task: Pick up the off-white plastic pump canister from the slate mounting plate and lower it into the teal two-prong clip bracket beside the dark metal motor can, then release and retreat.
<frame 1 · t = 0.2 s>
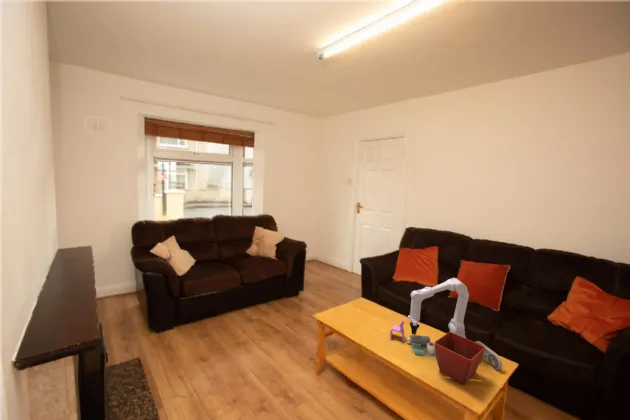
hand: (413, 331, 175), 10 cm above the table, fingers open, 7 cm apart
plant pot: (456, 373, 153), on the table
pump: (430, 352, 169), point 1 cm above the table, touching motor assembly
game controller: (486, 361, 164), on the table
toy chair: (397, 339, 184), on the table
motor assembly: (424, 349, 173), on the table
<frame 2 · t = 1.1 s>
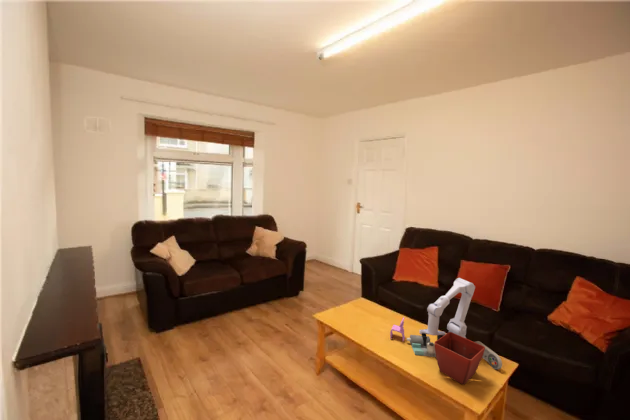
hand: (431, 345, 168), 5 cm above the table, fingers open, 7 cm apart
nothing on the table moved.
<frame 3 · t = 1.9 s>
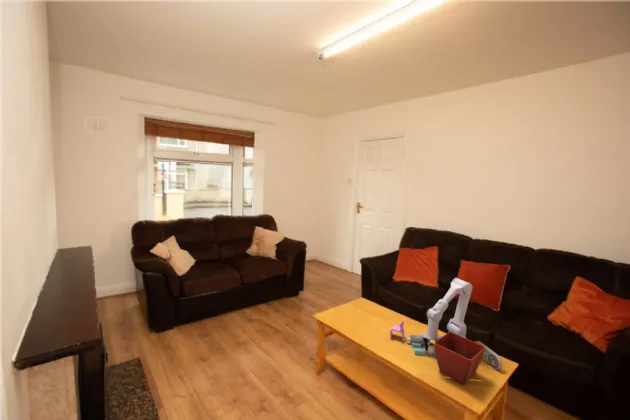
hand: (430, 350, 169), 2 cm above the table, fingers closed on pump, 5 cm apart
pump: (430, 352, 169), point 1 cm above the table, touching gripper, motor assembly
everything else where it was.
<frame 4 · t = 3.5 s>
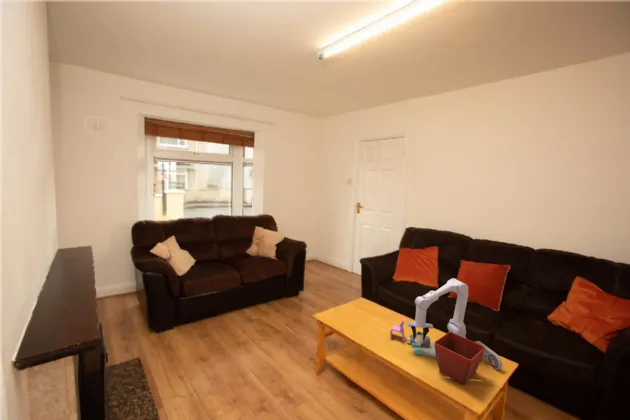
hand: (418, 338, 169), 9 cm above the table, fingers closed on pump, 5 cm apart
pump: (418, 341, 169), point 7 cm above the table, touching gripper
everything else where it was.
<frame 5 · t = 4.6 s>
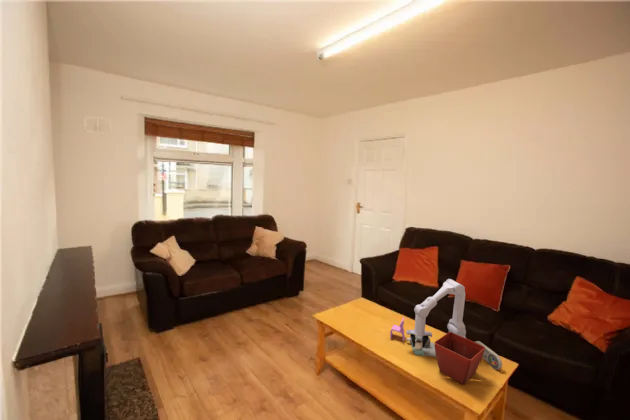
hand: (418, 346, 170), 4 cm above the table, fingers closed on pump, 5 cm apart
pump: (417, 349, 170), point 2 cm above the table, touching gripper
everything else where it was.
when the fingers open (4 cm above the table, at t = 5.2 s): pump stays where it is, resting on motor assembly.
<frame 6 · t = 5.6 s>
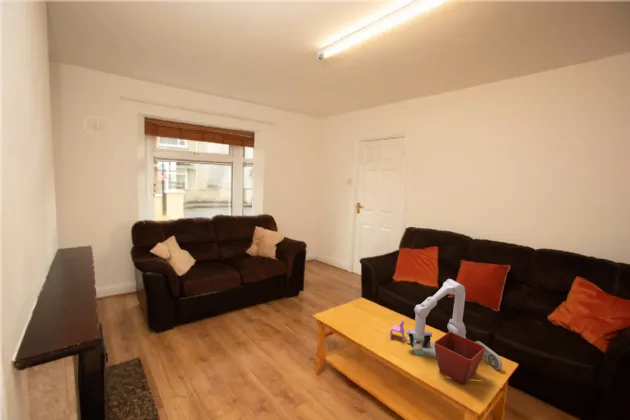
hand: (418, 346, 170), 4 cm above the table, fingers open, 7 cm apart
pump: (417, 350, 170), point 1 cm above the table, touching motor assembly
everything else where it was.
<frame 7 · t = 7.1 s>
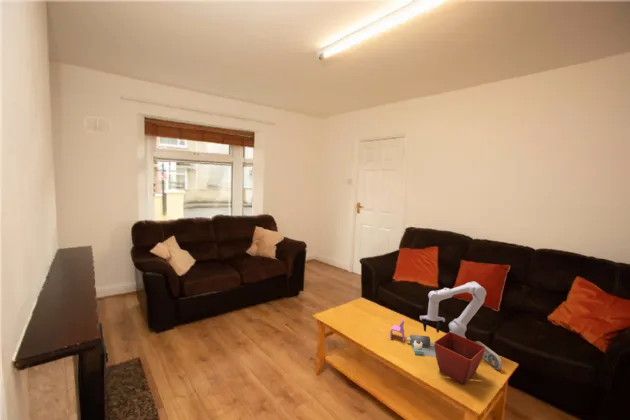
hand: (431, 331, 176), 10 cm above the table, fingers open, 7 cm apart
nothing on the table moved.
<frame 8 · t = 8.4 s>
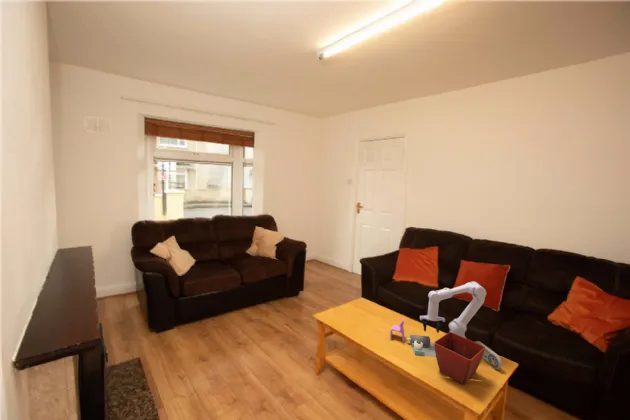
hand: (431, 331, 176), 10 cm above the table, fingers open, 7 cm apart
nothing on the table moved.
at the end: pump 0.1 cm from the target spot on the motor assembly, point 1.3 cm above the motor assembly's base; pump tilted 1°; the gripper is holding nothing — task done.
